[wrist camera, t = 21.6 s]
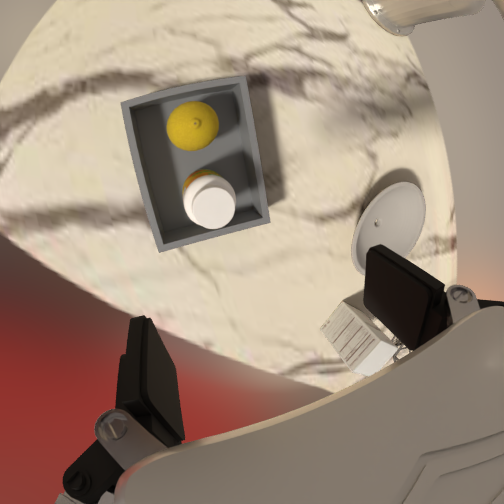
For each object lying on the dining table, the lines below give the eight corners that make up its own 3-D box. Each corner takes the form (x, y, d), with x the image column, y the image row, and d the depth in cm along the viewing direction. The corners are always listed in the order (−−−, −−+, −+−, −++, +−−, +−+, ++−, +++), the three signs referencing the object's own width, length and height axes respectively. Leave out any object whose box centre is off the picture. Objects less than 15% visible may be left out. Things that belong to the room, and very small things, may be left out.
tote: (128, 107, 27) (120, 102, 23) (235, 83, 29) (245, 75, 25) (160, 237, 35) (159, 252, 30) (258, 211, 37) (270, 222, 33)
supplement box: (362, 310, 52) (400, 348, 40) (339, 338, 53) (372, 379, 42) (342, 298, 48) (382, 339, 37) (317, 329, 50) (351, 374, 39)
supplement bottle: (225, 168, 33) (244, 179, 24) (224, 209, 35) (241, 235, 26) (181, 168, 31) (184, 180, 23) (182, 211, 33) (185, 238, 25)
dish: (356, 280, 48) (372, 293, 43) (318, 227, 41) (335, 239, 36) (415, 216, 46) (433, 224, 42) (388, 157, 39) (409, 161, 35)
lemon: (170, 105, 28) (169, 93, 21) (215, 108, 29) (228, 98, 22) (165, 149, 30) (162, 150, 23) (210, 151, 31) (221, 154, 24)
